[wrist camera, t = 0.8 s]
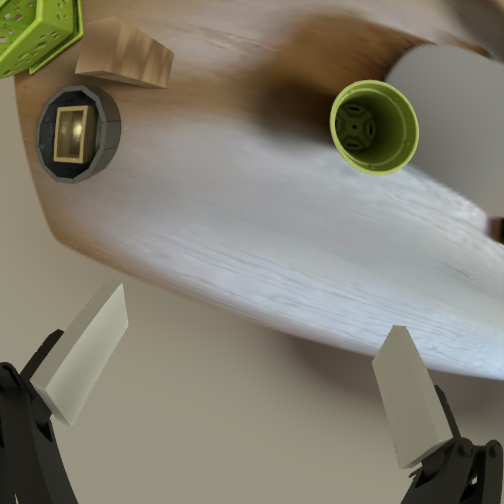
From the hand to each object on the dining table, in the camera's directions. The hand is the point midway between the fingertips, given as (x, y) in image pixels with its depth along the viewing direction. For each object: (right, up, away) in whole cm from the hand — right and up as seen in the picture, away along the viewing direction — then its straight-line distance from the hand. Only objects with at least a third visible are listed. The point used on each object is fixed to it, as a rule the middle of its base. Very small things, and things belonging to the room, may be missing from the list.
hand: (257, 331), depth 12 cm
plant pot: (+12, +19, +18) cm, 29 cm away
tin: (-24, +21, +19) cm, 37 cm away
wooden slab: (-12, +27, +16) cm, 33 cm away
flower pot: (-31, +39, +11) cm, 51 cm away
